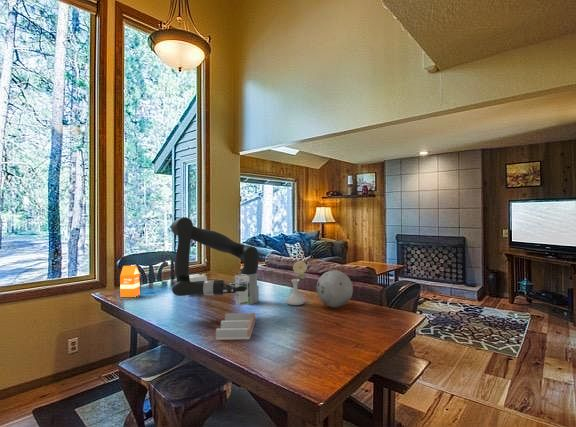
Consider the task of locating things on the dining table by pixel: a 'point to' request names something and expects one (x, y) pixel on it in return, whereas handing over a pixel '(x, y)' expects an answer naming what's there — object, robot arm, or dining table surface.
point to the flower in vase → (296, 297)
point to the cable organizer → (197, 278)
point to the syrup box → (242, 296)
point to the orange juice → (129, 282)
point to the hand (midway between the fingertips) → (246, 287)
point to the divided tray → (236, 326)
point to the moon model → (334, 288)
